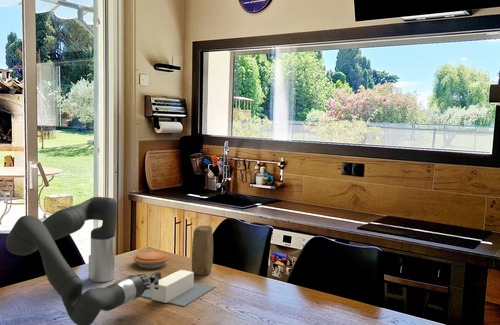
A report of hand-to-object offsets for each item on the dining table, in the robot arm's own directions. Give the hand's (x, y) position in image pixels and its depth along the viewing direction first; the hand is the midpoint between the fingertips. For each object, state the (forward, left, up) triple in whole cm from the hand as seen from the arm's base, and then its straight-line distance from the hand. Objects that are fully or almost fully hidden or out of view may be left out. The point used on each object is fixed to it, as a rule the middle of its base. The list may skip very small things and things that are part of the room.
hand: (159, 275), depth 162 cm
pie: (-29, +33, -10) cm, 45 cm away
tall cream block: (0, 0, -7) cm, 7 cm away
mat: (0, +12, -10) cm, 16 cm away
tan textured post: (-4, +36, -10) cm, 38 cm away
